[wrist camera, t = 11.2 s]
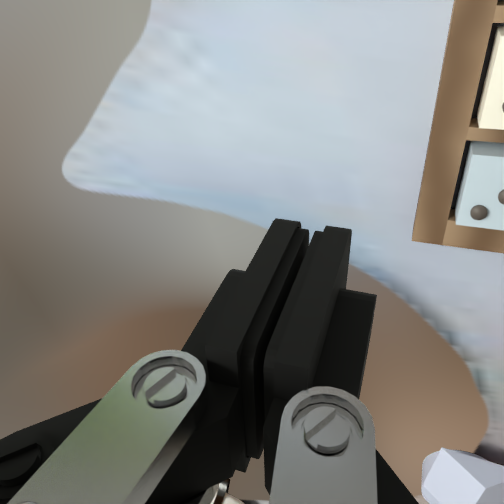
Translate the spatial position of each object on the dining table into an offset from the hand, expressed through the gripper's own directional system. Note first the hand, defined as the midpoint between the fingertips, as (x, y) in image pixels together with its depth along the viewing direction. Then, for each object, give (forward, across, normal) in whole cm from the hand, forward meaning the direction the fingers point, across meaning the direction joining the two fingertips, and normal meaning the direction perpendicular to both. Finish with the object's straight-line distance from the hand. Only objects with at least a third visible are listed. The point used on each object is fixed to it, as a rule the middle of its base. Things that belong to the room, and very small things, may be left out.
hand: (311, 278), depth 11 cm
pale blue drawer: (+30, -9, +11) cm, 33 cm away
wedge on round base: (+31, -15, +50) cm, 61 cm away
